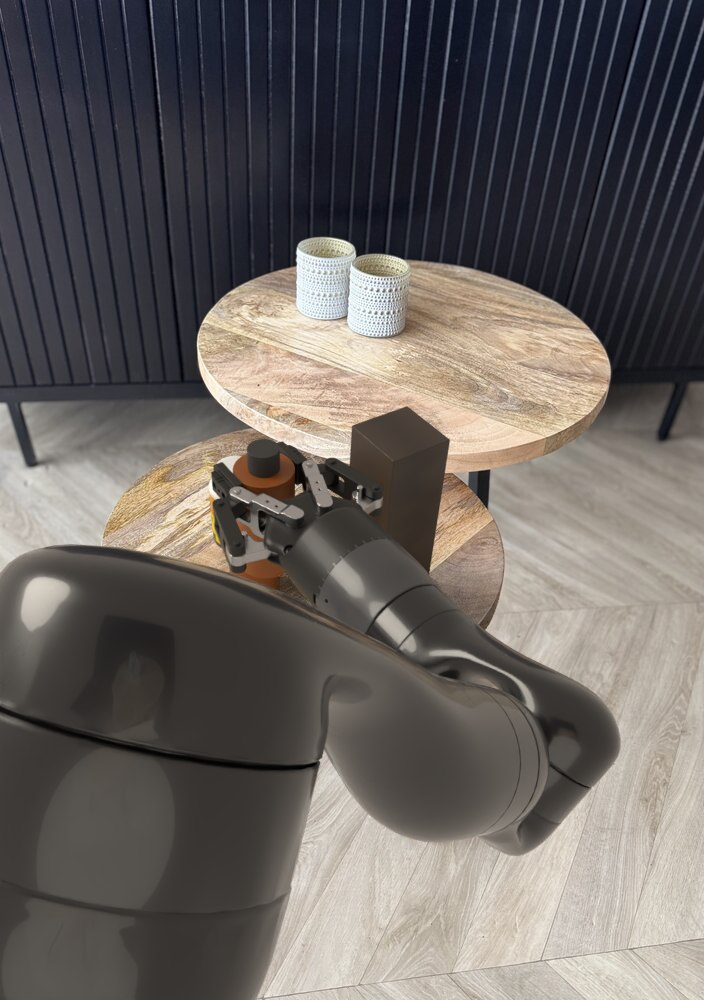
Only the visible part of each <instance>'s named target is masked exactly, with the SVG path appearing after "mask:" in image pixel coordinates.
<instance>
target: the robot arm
mask: <svg viewBox="0 0 704 1000" xmlns="http://www.w3.org/2000/svg"><path fill="white" fill-rule="evenodd" d="M277 443H278V445H279V447H280V453H281V454H284V455H286V456H287V457H289V458H290V459H291V460H292V462H293V463H294V466H295V486H300V485H301V489H302V491H301V492H299V493H297V494H295V496H294V497H293V498H290V499H285V500H281V501H278V500H276V499H274V498H272V497H270V496H268V495H266V494H264V493H261V494H259V495H256V494H254V493H252V492H250V491H248V490H246V489H244V488H243V484H242V483H241V482H240V481H239V480H238V478H237V477H236V476H235V475H234V474H233V473H232V472H231V471H230V470H229V469H228V467H227V466H226V465H225V464H224V463H223V462H220V463H217V462H216V463H217V464H216V463H215V464H213V466H212V467H213V468H212V469H213V471H211V472H210V474H211V475H210V477H211V478H212V487H213V491H214V492H215V493H216V494H217V495H218V496H219V499H216V500H214V501H213V503H212V506H213V511H214V521H215V522H214V528H215V531H216V534H217V536H218V539H219V541H220V544H221V547H222V549H223V554H224V557H225V559H226V562H227V565H228V568H229V567H230V570H231V571H232V572H233V573H237V574H239V573H243V572H244V571H245V570H246V569H247V565H246V563H249V562H254V561H258V560H262V559H267V560H268V561H269V562H271V563H273V564H275V565H278V566H280V567H281V568H283V569H284V571H285V572H286V573H285V574H286V576H287V577H288V578H289V580H290V581H291V583H292V585H294V587H295V588H296V589H297V590H298V591H299V592H300V594H301V595H302V596H303V597H304V598H305V599H306V601H307V602H308V603H307V602H305V601H303V600H302V599H299V598H297V597H296V596H295V597H294V596H292V595H291V594H288V593H287V592H283V591H281V590H280V589H279V590H276V589H274V588H271V587H269V586H266V585H264V584H261V583H258V582H255V581H253V580H250V579H247V578H244V577H241V576H238V575H235V574H232V573H230V572H228V571H225V570H221V569H218V568H216V567H212V566H208V565H205V564H201V563H198V562H194V561H190V560H184V559H180V558H175V557H171V556H166V555H161V554H156V553H152V552H146V551H140V550H136V549H131V548H125V547H119V546H105V545H90V544H78V543H76V544H75V543H65V544H53V545H49V546H44V547H39V548H36V549H32V550H29V551H27V552H25V553H22V554H19V555H18V556H16V557H15V558H14V559H12V560H11V561H10V562H8V563H7V564H6V565H5V567H3V569H2V570H1V571H0V1000H257V999H258V997H259V994H260V992H261V989H262V987H263V984H264V982H265V981H266V977H267V975H268V972H269V969H270V966H271V963H272V960H273V958H274V955H275V952H276V948H277V945H278V941H279V938H280V934H281V930H282V927H283V923H284V920H285V917H286V914H287V913H286V912H287V908H288V906H289V901H290V897H291V893H292V884H293V880H294V877H295V872H296V868H297V864H298V860H299V856H300V852H301V848H302V843H303V840H304V839H303V838H304V836H305V835H304V834H305V830H306V826H307V823H308V818H309V813H310V809H311V805H312V801H313V798H314V797H313V796H314V792H315V787H316V784H317V780H318V775H319V771H320V767H321V761H320V760H321V759H323V757H324V756H323V755H324V753H325V755H326V756H327V758H328V760H329V761H330V764H331V765H332V767H333V768H334V770H335V771H336V773H337V774H338V776H339V778H340V779H341V781H342V783H343V785H344V786H345V788H346V789H347V791H348V792H349V794H350V795H351V796H352V798H354V800H355V801H356V803H358V805H359V806H360V807H361V808H362V810H364V811H365V812H366V814H368V815H369V816H370V818H372V819H374V821H376V822H377V823H378V824H379V825H381V826H383V827H384V828H386V829H387V830H389V831H392V832H393V833H395V834H396V835H399V836H400V837H403V838H407V839H411V840H415V841H419V842H423V843H452V842H457V841H458V842H459V841H464V840H467V839H472V838H478V839H480V840H481V841H482V842H484V843H485V844H486V845H488V846H489V847H490V848H493V849H494V850H495V851H498V852H500V853H502V854H504V855H507V856H510V857H520V856H524V855H526V854H528V853H530V852H532V851H534V850H536V849H537V848H538V847H540V846H541V845H543V843H544V842H545V841H547V840H548V839H549V838H550V837H551V836H552V834H553V833H554V832H555V831H556V830H557V829H558V828H559V827H560V826H561V824H562V823H563V822H564V820H566V819H567V817H568V816H569V815H570V814H571V813H572V811H573V810H574V809H575V808H577V806H578V805H579V804H580V803H581V802H582V800H584V799H585V797H586V796H587V795H588V794H589V792H591V791H592V789H593V787H595V786H596V785H597V784H598V783H599V781H600V780H601V779H602V778H603V777H604V776H605V775H606V773H608V771H609V770H610V768H612V767H613V765H614V764H615V762H616V761H617V759H618V757H619V755H620V752H621V746H622V745H621V744H622V738H621V733H620V730H619V725H618V723H617V720H616V718H615V716H614V714H613V712H612V711H611V709H610V707H609V706H608V705H607V704H606V703H605V701H604V700H603V699H602V698H601V697H600V696H599V695H598V694H596V693H595V692H594V691H593V690H591V689H589V687H587V686H586V685H584V684H581V682H579V681H576V680H575V679H574V678H571V677H569V676H568V675H566V674H563V673H562V672H559V671H558V670H555V669H554V668H551V667H549V666H547V665H546V664H543V663H541V662H539V661H537V660H535V659H533V658H531V657H529V656H527V655H525V654H523V653H521V652H519V651H517V650H516V649H514V648H513V647H511V646H509V645H507V644H506V643H504V642H503V641H501V640H500V639H498V638H496V636H494V635H492V634H491V633H490V632H488V631H487V630H486V629H485V628H483V627H482V626H481V625H480V624H479V623H478V622H476V621H475V619H473V618H472V617H471V616H470V615H469V614H468V613H467V612H466V611H464V610H463V609H462V608H461V607H460V606H459V605H458V604H457V603H456V602H455V601H454V600H453V599H452V598H451V597H450V596H449V595H448V593H446V592H444V590H442V588H441V587H440V586H439V585H438V584H437V583H436V581H434V579H433V578H432V576H431V575H430V573H429V574H428V573H427V571H426V570H425V569H424V568H423V567H422V565H421V564H420V563H419V562H418V561H417V560H416V559H414V558H413V557H412V556H411V555H410V554H409V553H408V552H407V551H406V550H405V549H404V548H403V547H402V546H401V545H400V544H399V543H398V542H397V541H396V540H395V539H394V538H393V537H392V536H390V535H389V534H388V533H387V532H386V531H385V530H384V529H383V528H382V527H381V526H380V525H379V524H378V523H377V522H376V521H375V520H374V519H373V518H372V517H371V516H379V515H380V514H381V513H382V505H383V493H384V487H383V486H382V485H381V484H379V483H378V482H376V481H374V480H373V479H371V478H369V477H367V476H366V475H364V474H362V473H361V472H359V471H357V470H356V469H354V468H352V467H350V464H349V465H348V464H347V463H345V462H344V461H342V460H340V459H339V458H336V457H328V458H326V459H325V460H324V462H323V463H317V462H316V461H314V460H311V459H308V458H306V456H305V455H304V454H303V453H301V451H300V450H299V449H298V448H296V446H293V445H291V444H286V443H285V442H284V441H282V440H281V441H279V442H277ZM340 478H341V479H340ZM329 491H330V492H332V493H334V494H335V495H337V496H335V495H331V493H330V492H329ZM247 507H248V508H249V509H250V510H249V509H247ZM368 514H369V515H368ZM370 515H371V516H370ZM236 520H237V521H239V522H241V523H243V524H244V525H246V526H248V527H250V529H251V531H252V532H253V533H254V534H255V535H256V536H258V537H260V538H262V539H263V542H257V541H255V540H253V539H252V537H251V536H249V535H248V533H247V532H246V531H242V532H241V531H240V529H239V526H238V524H237V522H236Z"/></svg>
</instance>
